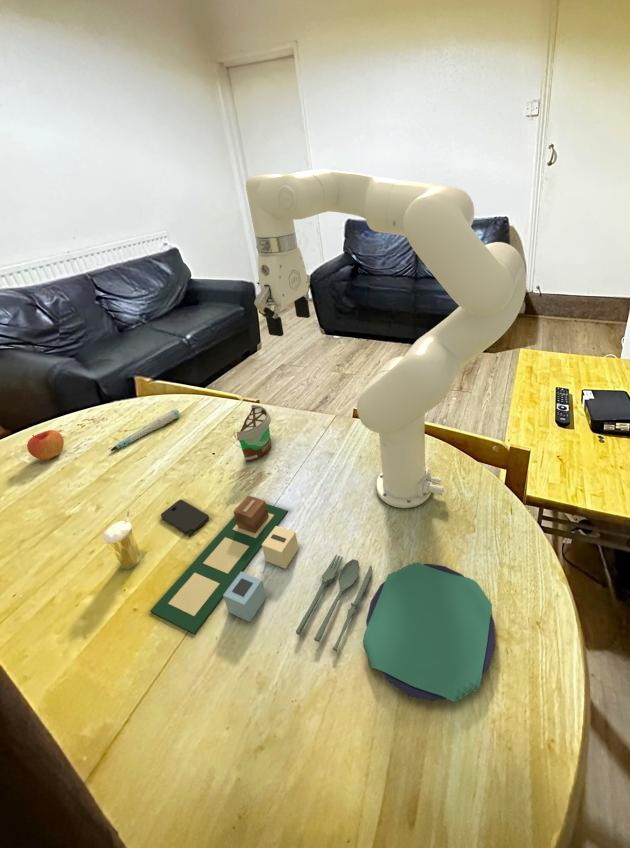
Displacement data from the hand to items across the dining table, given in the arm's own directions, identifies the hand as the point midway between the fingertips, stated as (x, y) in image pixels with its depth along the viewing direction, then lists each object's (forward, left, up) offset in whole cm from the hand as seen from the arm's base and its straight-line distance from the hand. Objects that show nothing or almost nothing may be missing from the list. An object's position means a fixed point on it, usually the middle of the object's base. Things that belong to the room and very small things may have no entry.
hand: (290, 325), depth 86 cm
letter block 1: (+2, +20, -36) cm, 41 cm away
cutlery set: (-33, +27, -37) cm, 56 cm away
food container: (+15, 0, -37) cm, 40 cm away
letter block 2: (-8, +24, -37) cm, 45 cm away
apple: (+68, +21, -37) cm, 80 cm away
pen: (+51, +5, -37) cm, 63 cm away
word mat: (+2, +28, -37) cm, 46 cm away
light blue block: (-8, +34, -37) cm, 51 cm away
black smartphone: (+17, +24, -37) cm, 47 cm away
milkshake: (+19, +35, -37) cm, 54 cm away
